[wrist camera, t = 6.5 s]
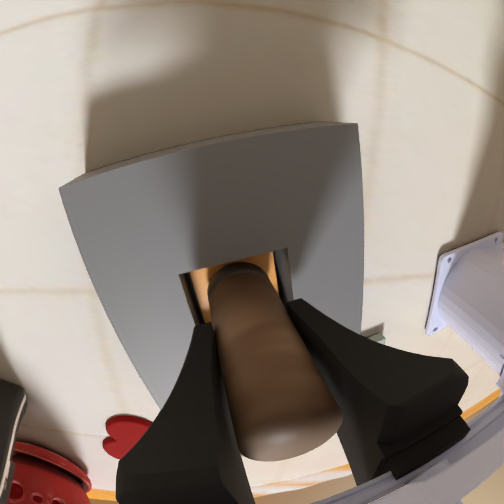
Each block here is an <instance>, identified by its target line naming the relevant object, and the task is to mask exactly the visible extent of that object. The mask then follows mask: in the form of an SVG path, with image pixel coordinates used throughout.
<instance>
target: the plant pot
mask: <svg viewBox="0 0 504 504" xmlns="http://www.w3.org/2000/svg"><path fill="white" fill-rule="evenodd" d="M12 461H13V462H14V464H15V471H14V477H13V481H12V486H11V491H10V495H9V500H8V502H7V504H91V503H90V501H89V499H88V497H87V495H86V493H87V492H89V491H90V490H91V481H90V479H89V478H88V476H87V475H86V474H85V473H84V472H83V471H82V470H81V469H80V468H79V467H78V466H76V465H75V464H73V463H72V462H70V461H69V460H67V459H66V458H64V457H62V456H60V455H58V454H55V453H53V452H51V451H49V450H46V449H44V448H41V447H38V446H35V445H32V444H28V443H24V442H15V446H14V450H13V455H12Z"/></svg>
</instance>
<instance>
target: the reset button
mask: <svg viewBox="0 0 504 504" xmlns="http://www.w3.org/2000/svg"><path fill="white" fill-rule="evenodd" d="M236 262H248V263H252V264H255V265H257V266H259V267H260V268H261V269H263V270H264V271H265V273H266V274H267V276H268V277H269V279H270V281H271V283H272V285H273V287H274V288H275V290H276V292H277V294H278V296H279V293H278V286H277V279H276V272H275V265H274V258H273V251H272V252H268V253H264V254H260V255H256V256H252V257H248V258H244V259H239V260H235V261H231V262H227V263H223V264H219V265H215V266H211V267H207V268H203V269H199V270H195V271H190V275H191V279H192V282H193V286H194V289H195V292H196V295H197V299H198V302H199V305H200V308H201V312H202V315H203V318H204V321H205V323H208V322H211V324H212V319H211V313H210V307H209V302H208V295H207V289H208V285H209V282H210V280H211V278H212V277H213V275H214V274H215V273H216V272H217V271H218V270H220V269H221V268H223V267H224V266H226V265H229V264H231V263H236ZM212 327H213V325H212Z"/></svg>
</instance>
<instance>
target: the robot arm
mask: <svg viewBox="0 0 504 504" xmlns="http://www.w3.org/2000/svg"><path fill="white" fill-rule="evenodd" d="M503 236H504V234H503V232H501V231H499V232H497V233H494V234H492V235H489V236H487V237H485V238H482V239H480V240H477V241H475V242H472V243H470V244H467V245H464V246H462V247H459V248H457V249H454V250H452V251H449V252H446V253H444V254H442V255H441V256H440V258H439V260H438V267H437V274H436V280H435V286H434V292H433V297H432V302H431V307H430V312H429V316H428V321H427V325H426V330H425V333H426V334H427V335H428V336H429V335H432V334H434V333H435V332H437V331H439V330H441V329H443V328H445V327H447V326H449V327H450V328H451V329H452V330H453V331H454V332H455V333H456V334H458V335H459V336H460V337H461V338H462V339H463V340H464V341H465V342H466V343H467V344H468V345H469V346H470V347H471V348H472V349H473V350H474V351H475V352H476V353H477V354H478V355H479V356H480V357H482V358H483V359H484V360H485V361H486V362H487V363H488V364H489V365H490V366H491V367H492V368H493V369H494V370H495V371H496V373H497V374H498V375H499V376H500V378H499V380H498V381H497V383H496V385H497V386H498V387H499V388H500V389H501V390H502V391H501V393H500V398H499V399H497V400H496V401H495V402H494V403H493V404H492V405H490V406H489V407H488V408H487V409H485V410H484V411H483V412H482V413H481V414H479V415H478V416H477V417H475V418H474V419H473V420H471V421H470V422H469V423H467V424H466V422H465V421H464V420H463V419H462V417H461V416H460V415H461V414H462V410H461V408H460V407H459V406H458V403H459V401H460V399H461V398H462V396H463V394H464V392H465V390H466V388H467V385H468V379H469V377H468V375H467V374H466V373H465V372H464V371H463V369H462V368H461V367H460V366H459V365H458V364H457V363H456V362H455V361H454V360H453V359H450V358H440V357H432V356H425V355H420V354H415V353H410V352H406V351H403V350H399V349H396V348H393V347H389V346H386V345H383V344H381V343H378V342H376V341H373V340H371V339H368V338H366V337H364V336H362V335H359V334H357V333H355V332H354V331H352V330H350V329H348V328H346V327H344V326H343V325H341V324H339V323H338V322H336V321H334V320H333V319H331V318H330V317H328V316H327V315H325V314H324V313H322V312H321V311H319V310H318V309H316V308H315V307H313V306H312V305H311V304H309V303H308V302H306V301H305V300H303V299H302V298H299V299H296V300H292V301H289V302H286V303H287V311H288V314H289V316H290V318H291V319H292V321H293V323H294V325H295V327H296V329H297V330H298V332H299V334H300V336H301V338H302V339H303V341H304V343H305V345H306V347H307V349H308V350H309V352H310V354H311V356H312V358H313V360H314V361H315V363H316V365H317V367H318V369H319V371H320V372H321V374H322V376H323V378H324V380H325V382H326V383H327V385H328V387H329V389H330V391H331V393H332V394H333V396H334V398H335V400H336V402H337V404H338V405H339V407H340V409H341V411H342V413H343V421H342V424H341V426H340V428H339V429H338V430H337V434H338V437H339V439H340V442H341V444H342V447H343V449H344V452H345V454H346V457H347V460H348V462H349V465H350V468H351V470H352V473H353V476H354V478H355V482H356V485H357V487H354V488H352V489H349V490H347V491H345V492H342V493H339V494H337V495H334V496H331V497H329V498H326V499H323V500H320V501H317V502H314V503H311V504H368V503H370V502H372V503H370V504H463V503H462V502H461V500H460V499H462V498H463V497H465V496H466V495H467V494H469V493H470V492H471V491H472V490H474V489H475V488H476V487H477V486H479V485H480V484H481V483H482V482H484V481H485V480H486V479H487V478H488V477H489V476H491V475H492V474H493V473H494V472H495V471H496V470H497V469H499V468H500V467H501V466H502V465H503V464H504V243H503ZM405 485H407V486H405ZM403 486H405V487H403ZM401 487H403V488H401ZM399 488H401V489H399ZM397 489H399V490H397ZM395 490H396V491H395ZM393 491H395V492H393ZM391 492H393V493H391ZM389 493H391V494H389ZM387 494H389V495H387ZM385 495H387V496H385ZM383 496H385V497H383ZM381 497H383V498H381ZM379 498H380V499H379ZM377 499H378V500H377ZM116 500H117V502H118V503H119V504H255V501H254V498H253V495H252V492H251V489H250V485H249V482H248V479H247V475H246V472H245V468H244V465H243V461H242V458H241V454H240V451H239V449H238V445H237V441H236V437H235V433H234V428H233V424H232V419H231V415H230V410H229V406H228V401H227V396H226V392H225V387H224V382H223V377H222V372H221V367H220V362H219V357H218V350H217V345H216V340H215V334H214V330H213V327H212V324H211V322H208V323H204V324H199V325H196V326H195V327H194V329H193V334H192V338H191V342H190V346H189V349H188V352H187V355H186V358H185V361H184V364H183V367H182V369H181V371H180V374H179V376H178V379H177V381H176V383H175V385H174V388H173V390H172V392H171V394H170V395H169V397H168V399H167V401H166V403H165V404H164V406H163V408H162V409H161V411H160V413H159V414H158V416H157V417H156V419H155V420H154V422H153V423H152V424H151V426H150V427H149V428H148V430H147V431H146V432H145V433H144V435H143V436H142V437H141V439H140V440H139V441H138V442H137V443H136V444H135V445H134V446H133V447H132V448H131V450H130V451H129V452H128V453H127V454H126V455H125V456H124V457H123V458H122V459H121V460H120V461H119V463H118V469H117V475H116ZM375 500H376V501H375ZM373 501H374V502H373Z"/></svg>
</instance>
